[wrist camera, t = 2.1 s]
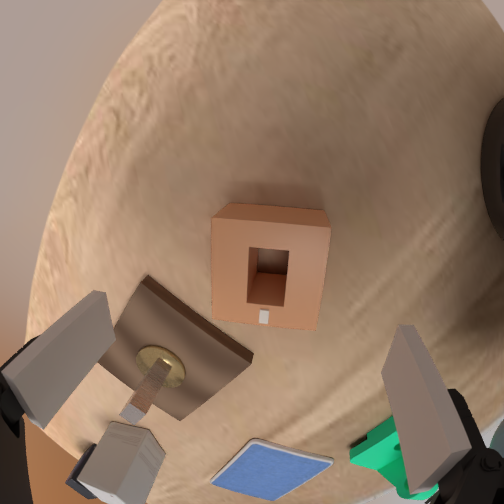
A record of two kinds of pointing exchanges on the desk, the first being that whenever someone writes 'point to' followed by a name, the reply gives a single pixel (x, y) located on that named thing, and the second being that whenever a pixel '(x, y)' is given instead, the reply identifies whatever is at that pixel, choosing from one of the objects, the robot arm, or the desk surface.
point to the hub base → (169, 355)
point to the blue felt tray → (269, 470)
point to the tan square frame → (265, 284)
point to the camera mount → (386, 458)
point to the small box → (77, 470)
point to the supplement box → (123, 465)
